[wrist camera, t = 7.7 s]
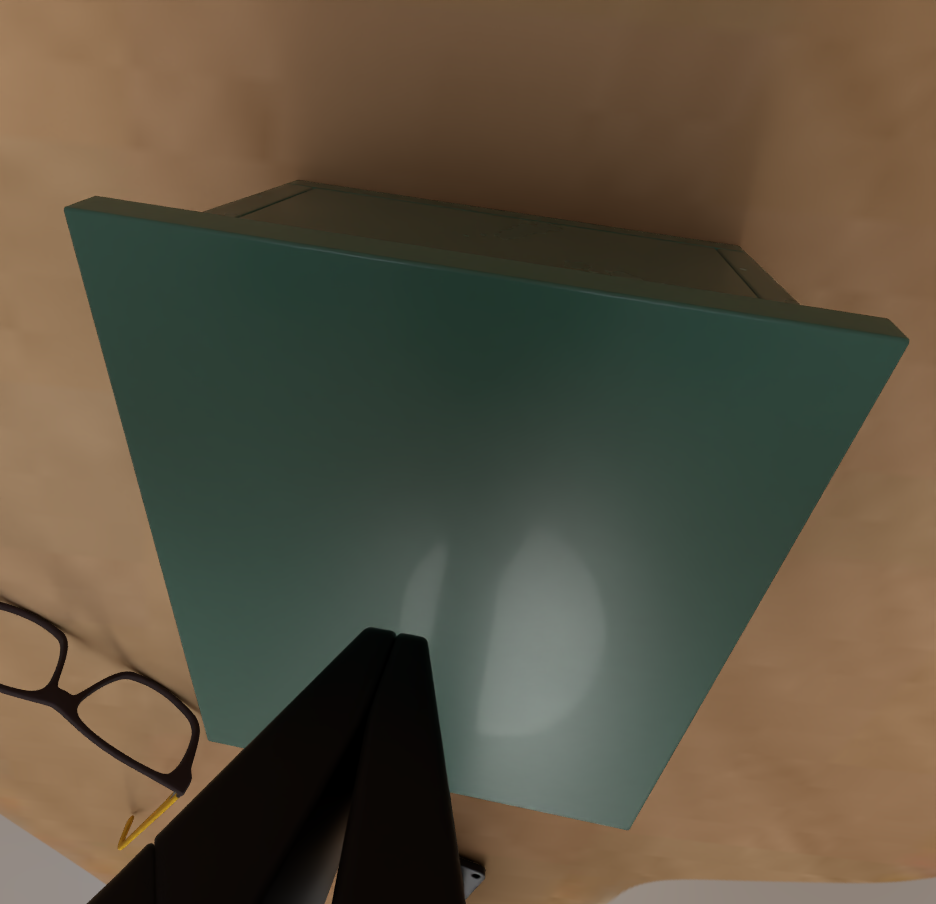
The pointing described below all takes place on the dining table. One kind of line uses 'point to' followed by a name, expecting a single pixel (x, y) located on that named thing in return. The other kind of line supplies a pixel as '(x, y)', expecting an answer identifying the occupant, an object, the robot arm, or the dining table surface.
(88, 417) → the dining table surface
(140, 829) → the eyeglasses
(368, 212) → the tin
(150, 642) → the dining table surface
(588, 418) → the lid
